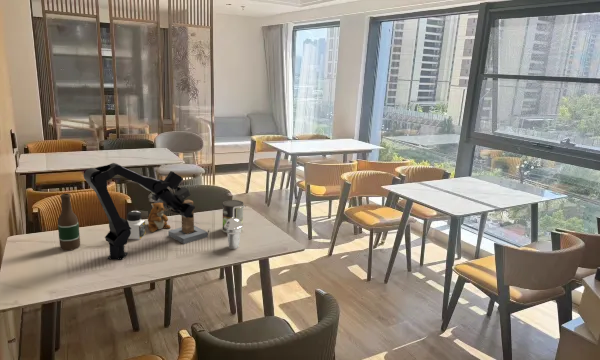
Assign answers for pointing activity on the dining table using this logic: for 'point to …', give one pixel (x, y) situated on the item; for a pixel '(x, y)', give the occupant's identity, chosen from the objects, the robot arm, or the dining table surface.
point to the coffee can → (228, 211)
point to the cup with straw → (233, 230)
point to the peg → (188, 221)
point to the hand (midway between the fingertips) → (190, 215)
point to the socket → (183, 238)
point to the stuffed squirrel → (157, 218)
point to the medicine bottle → (136, 225)
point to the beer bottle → (68, 226)
